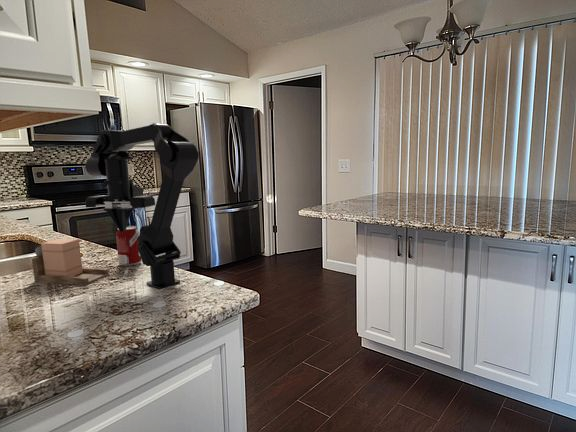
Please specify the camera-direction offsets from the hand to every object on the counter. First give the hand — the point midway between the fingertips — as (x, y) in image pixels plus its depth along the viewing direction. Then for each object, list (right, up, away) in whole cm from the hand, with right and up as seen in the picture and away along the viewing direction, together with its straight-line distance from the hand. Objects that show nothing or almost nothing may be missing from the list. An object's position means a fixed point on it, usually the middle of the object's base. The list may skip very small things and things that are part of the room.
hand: (123, 231), depth 107 cm
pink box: (-18, -13, +2) cm, 22 cm away
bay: (-15, -13, +1) cm, 20 cm away
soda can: (-4, -11, +14) cm, 19 cm away
